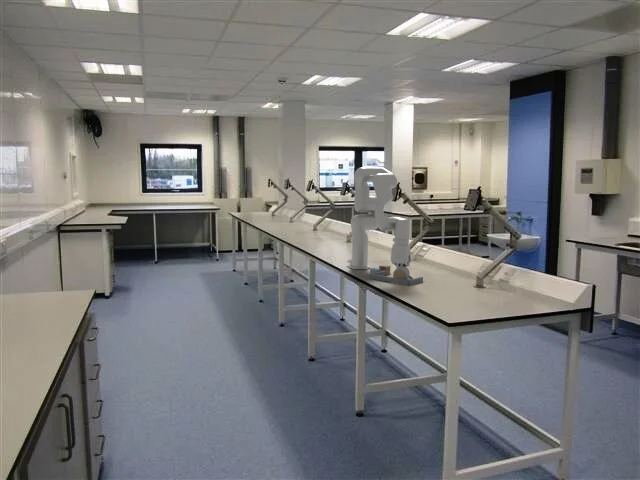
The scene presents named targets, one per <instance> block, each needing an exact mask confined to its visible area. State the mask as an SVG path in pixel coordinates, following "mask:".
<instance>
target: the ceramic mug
mask: <svg viewBox="0 0 640 480" xmlns="http://www.w3.org/2000/svg"><path fill="white" fill-rule="evenodd" d="M392 274H393V275H392V277H393V278H398V279H404V280H410V279H414V278H415V277H412V276H411V275H410V274H411V273H410V270H409V268H408V266H406V267H405V266H399V267H397V268H395V270H393V273H392Z"/></svg>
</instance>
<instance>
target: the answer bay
mask: <svg viewBox="0 0 640 480" xmlns="http://www.w3.org/2000/svg"><path fill="white" fill-rule="evenodd" d="M385 275H386V276H385ZM369 277H370V280H374V279H376V280H375V281H380V280H382V282H385V281H388V282H387V283H391V282H393V283H392V284H396V283H398V284H397V285H402V284H403V286H412V285H413V286H414V285H416V284H420V283H423V282H424V277H423V276H419V277H418V276H417V277H413V278H414V279H410V280H404V279H398V278H393V276H387V274H386V271H381V272H376V273H372V274H370V273H369Z"/></svg>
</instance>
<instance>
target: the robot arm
mask: <svg viewBox="0 0 640 480" xmlns="http://www.w3.org/2000/svg"><path fill="white" fill-rule="evenodd" d="M353 182H354V201H353V202H354V204H353V206H354V210H355V211H356V212H357V213H360V214H355V215H353V216H352V217H351V219H350V228H351V259H350V258H349V259H348V260H347V261H346V262H347V264H349V265H348V267H349V268H350V269H352V270H353V269H354V270H367V269H369V270H370V269H371V265H369V263H368V261H369V236H368V234H367V232H366V231H374V230H377V229H379V230H380V231H381V232H394V238H393V239H392V242H393V244H392V245H391V246H392V247H391V251H390V262H391V264H392V265H394V266H395V267H396V268H397V267H399V266H405V267H410V266H411V260H412V259H411V258H412V256H411V255H412V252H411V246H410V220H409V219H408V218H406V217H405V218H403V217H399V216H385V210H384V208H385V206H386V205H388V204H390V203H391V202H392V201H393V199H394V196H393V193H392V190H391V189H395V188H396V187H397V186H398V185H397V184H398V178H397V177H396V175H395V174H394V173H393V172H391V171H389V170H387V169H386V168H384V167H381V166H380V167H379V166H378V167H377V166H362V167H358V168H357V169H356V170H355V172H354V175H353ZM368 183H372V186H373V190H374V192H375V195H370V186H369V184H368ZM361 213H362V214H361ZM364 213H367V214H364ZM396 268H395V269H396Z"/></svg>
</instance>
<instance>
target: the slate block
mask: <svg viewBox="0 0 640 480" xmlns="http://www.w3.org/2000/svg"><path fill="white" fill-rule="evenodd" d="M376 272H380V269H379V267H378V268H377V267H372V268H371V267H370V268H369V275H370V274H372V273H376Z"/></svg>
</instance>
